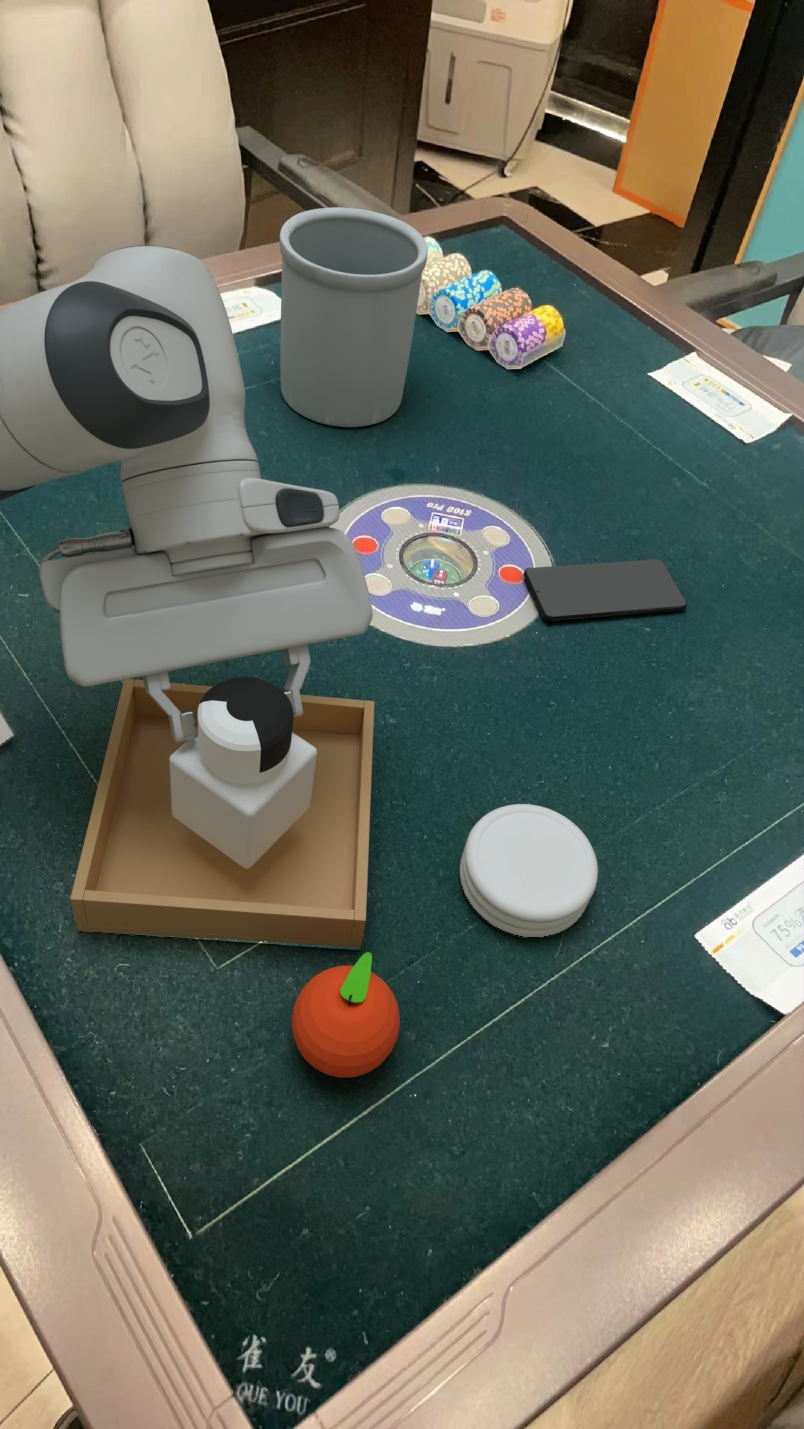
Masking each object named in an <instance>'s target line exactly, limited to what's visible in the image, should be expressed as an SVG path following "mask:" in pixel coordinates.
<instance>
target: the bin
mask: <svg viewBox="0 0 804 1429" xmlns="http://www.w3.org/2000/svg"><path fill="white" fill-rule="evenodd" d="M212 687H213V686H210V685H202V684H201V685H198V684H189V683H180V682H179V683H177V682H170V689H166V690H163V689H162V692H163V693H164V694H165V695H166V696H167V697H168V698H169V700H170V701H171V702H172V703H173V704H174V705H175V706H176V708H177V709H178V710H179V711H184V710H191V711H194V715H195V720H196V722H195V724H194V726H196V727H197V730H198V707H199V704H200V701H201V699H202V698H203V696H204V695H205V693H206V692H207V691H208V690H209V689H211V688H212ZM300 696H301V702H302V707H303V715H300V716H296V717H294V719H293V729H292V732H293V733H294V734H296V735H297V736H299V737H300V738H302V739H303V740H305V741H306V742H308V743H309V744H311V745H312V746H314V747H315V748H316V750H317V757H316V765H315V772H314V780H313V787H312V795H311V802H310V807H309V808H308V809H307V810H306V811H305V812H304V813H303V814H302V816H301V817H300V818H299V819H298V820H297V821H296V822H295V823H294V824H293V825H292V826H291V827H290V828H289V829H288V830H287V831H286V832H285V833H284V834H283V835H282V836H281V837H280V838H279V839H278V840H277V841H276V842H275V843H274V844H273V845H272V846H271V847H270V848H269V849H268V850H267V851H266V852H265V853H264V854H263V855H262V856H261V857H260V858H259V859H258V860H257V861H256V862H255V863H254V864H253V865H252V867H251V868H249V869H245V868H243V867H242V866H241V865H239V864H238V863H236V862H235V861H234V860H232V859H231V858H230V857H228V856H227V855H225V854H224V853H223V852H221V851H220V850H219V849H217V848H216V847H214V846H213V845H212V844H210V843H209V842H208V841H206V840H205V839H203V838H202V837H201V836H199V835H198V834H197V833H195V832H194V831H192V830H191V829H190V828H188V827H187V826H186V825H184V824H183V823H181V822H180V821H179V820H177V819H176V818H175V817H174V816H173V815H172V802H171V781H170V760H169V758H170V756H171V755H172V754H173V753H174V752H175V751H176V750H177V749H178V748H180V747H181V746H182V745H183V744H184V743H185V742H187V741H188V740H189V739H188V740H184V741H179V742H176V741H174V738H173V735H172V731H171V726H170V721H169V716H168V715H167V714H166V713H165V712H164V711H163V710H162V709H161V708H160V707H159V705H158V704H157V703H156V702H155V701H154V700H153V699H152V698H151V697H150V695H149V694H148V693H147V692H146V689H145V684H144V680H143V679H134V678H130V679H125V680H123V682H122V687H121V692H120V695H119V699H118V703H117V708H116V711H115V715H114V720H113V723H112V727H111V732H110V736H109V738H108V739H109V740H108V743H107V748H106V751H105V756H104V760H103V764H102V769H101V772H100V777H99V781H98V785H97V788H96V792H95V796H94V801H93V805H92V808H91V812H90V816H89V817H90V818H89V822H88V825H87V829H86V833H85V837H84V841H83V844H82V849H81V854H80V857H79V861H78V865H77V869H76V874H75V878H74V882H73V886H72V890H71V894H70V899H69V900H70V904H71V907H72V913H73V916H74V919H75V920H74V921H75V925H76V929H77V932H78V933H79V932H80V931H83V932H82V933H93V932H103V933H102V934H106V933H105V932H108V933H110V932H111V933H130V934H148V935H161V936H175V937H190V938H195V937H196V938H219V939H225V938H227V939H237V940H247V941H251V940H252V941H262V942H264V941H268V942H281V943H295V944H310V945H328V946H346V947H356V948H360V949H361V947H362V942H363V937H364V931H365V928H366V923H367V904H368V902H367V900H368V881H369V880H368V879H369V878H368V877H369V855H370V854H369V853H370V826H371V802H372V801H371V800H372V778H373V776H372V775H373V752H374V750H373V748H374V725H375V701H374V700H363V699H355V698H354V699H353V698H342V697H330V696H321V695H311V694H309V695H308V694H300Z"/></svg>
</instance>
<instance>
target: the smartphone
mask: <svg viewBox="0 0 804 1429" xmlns="http://www.w3.org/2000/svg"><path fill="white" fill-rule="evenodd" d="M522 577H523V578H524V581H525V582H526V585H527V587H528V590H529V592H530V594H531V596H532V598H533V601H534V603H535V604H536V606H537V609H538V610H539V613H540V615H541V617H542V619H543V620H544V621H546V622H559V621H560V622H561V621H571V620H582V619H595V618H605V617H607V618H608V617H618V616H619V617H620V616H631V615H642V614H643V615H644V614H657V613H666V612H668V613H669V612H677V611H678V612H679V611H684V610H686V608H688V602H687V600H686V598H685V596H684V595H683V593H682V591H681V589H680V588H679V585H678V584H677V582H676V581H675V579H674V577H673V576H672V574H671V572H670V570H669V569H668V567H667V565H666V564H665V562H664V561H663V559H660V558H659V559H658V558H654V559H641V560H640V559H639V560H624V561H610V562H609V561H608V562H594V563H579V564H568V565H555V566H537V567H528V568H525V569H524V571H523V576H522Z"/></svg>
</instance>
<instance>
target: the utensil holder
mask: <svg viewBox="0 0 804 1429" xmlns="http://www.w3.org/2000/svg"><path fill="white" fill-rule="evenodd" d="M279 249H280V250H279V251H280V254H281V289H280V290H281V292H280V293H281V295H280V336H279V337H280V338H279V340H280V341H279V343H280V345H279V346H280V350H279V353H280V355H279V356H280V357H279V358H280V359H279V362H280V365H279V369H280V371H279V372H280V374H279V375H280V391H281V394H282V397H283V399H284V401H285V402H286V404H287V405H288V406H289V407H290V408H291V409H292V410H293V411H295V412H296V413H297V414H299V415H300V416H303V417H304V418H306V419H309V420H311V421H313V422H316V423H319V424H323V425H325V426H326V425H327V426H332V427H337V428H338V427H340V428H362V427H368V426H372V425H376V424H378V423H382V422H384V421H386V420H388V419H389V418H390V417H392V416H394V414H395V413H396V412H397V411H398V409H399V408H400V406H401V404H402V400H403V395H404V394H403V393H404V388H405V383H406V378H407V372H408V367H409V361H410V355H411V348H412V341H413V335H414V329H415V322H416V321H415V320H416V316H417V310H418V304H419V299H420V298H419V297H420V292H421V285H422V284H421V283H422V275H423V272H424V270H425V268H426V266H427V261H428V254H429V247H428V244H427V241H426V240H425V238H424V237H423V235H422V234H421V233H420V232H419V231H418V230H417V229H415V228H414V227H413V226H411V225H410V224H408V223H406V222H404V221H403V220H400V219H397V218H395V217H394V216H390V215H387V214H385V213H380V212H377V211H372V210H368V209H360V208H353V207H337V206H336V207H334V206H333V207H321V208H313V209H310V210H306V211H305V210H304V211H302V212H299V213H297V214H295V215H293V216H291V217H290V218H289V219H287V220H286V221H285V222H284V224H283V225H282V227H281V229H280V233H279Z"/></svg>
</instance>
